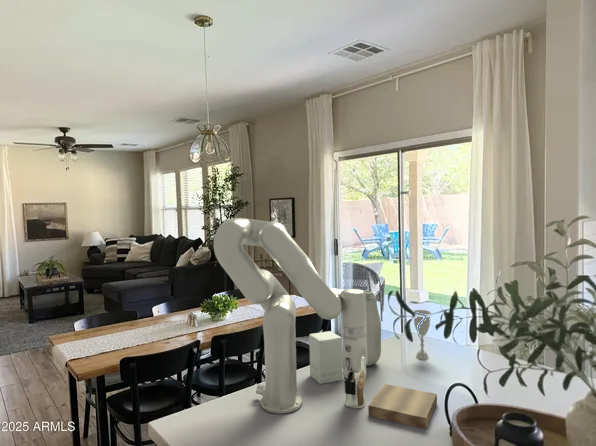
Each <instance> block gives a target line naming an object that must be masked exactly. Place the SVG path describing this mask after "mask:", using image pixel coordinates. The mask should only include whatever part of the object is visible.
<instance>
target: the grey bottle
mask: <svg viewBox="0 0 596 446" xmlns="http://www.w3.org/2000/svg"><path fill="white" fill-rule="evenodd" d="M363 291H364V292H365V294H366V341H367V354H368V363H367V364H366V367H367V366H369V367H370V366H373V365H376V364H377V363H378V361H380V358H381V355H382V354H381V353H382V324H381V323H382V322H381V316H380V313H379V309H378V304H377V303H378V302H377V301H378V300H377V296H376V294H375V293H374V292H372V290H371V291H370V290H363Z"/></svg>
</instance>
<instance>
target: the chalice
mask: <svg viewBox="0 0 596 446" xmlns="http://www.w3.org/2000/svg"><path fill="white" fill-rule="evenodd" d="M413 311H415V312H419V313H423V314H430V316H429V317H427V318H426V320H425V321H423V323H422V324H421V325H420V328H419V334H420V335H421V336H420V335H419V334H418V335H419V336H420V340H419V342H420V344H419V347H420V350H418V351H417V353H416V355H415V358H416V359H417V360H420V361H426V360H429V359H430V357H429V354H428V352H427V351H426V350H424V347H425V344H424V343H425V339H424V336H426V335H427V333H428V331H429V329H430V325H431V323H430V322H431V321H430V320H431V319H430V318H431V314H432V312H431V311H429V310H424V309H416V310H413ZM422 319H423V317H417V318H415V319H414V318H413V324H414V328H415V330H416V331H417V325H418V323H419V322H420V321H421V320H422Z"/></svg>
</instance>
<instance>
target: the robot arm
mask: <svg viewBox="0 0 596 446" xmlns="http://www.w3.org/2000/svg"><path fill="white" fill-rule="evenodd" d="M243 245H246V246H254V247H262V249H264V250H265V252H266V253H267V254H268V255H269V256H270V258H271V259H272V260H273V261H274V262H275V264H277V266H279V268H280V270H282V272H283V273H284V274H285V275H286V276H287V277H288V279H289V281H290V282H291V283H292V285H293V286H294V288H296V290H297V291H298V292H299V294H300V295H301V296H302V297H303V299H304V300H305V301H306V303H307V304H308V306H310V307H311V309H312V310H313V311H314V312H315V313H316V314H317V315H318V316H319V317H320V318H322V319H325V320H327V321H330V320H334V319H336V318H338V316H339V315H340V322H341V323H340V324H341V325H340V326H341V327H340V331H341V336H340V337H341V338H342V371H343V382H344V381H345V382H344V393H345V395H346V394H350V395H355V394H356V381H354V379H355V372H356V373H358V372H360V371H361V358H363V357H364V355H365V360H366V364H367V363H368V354H367V341H366V294H365V292H364V291H365V290H362V289H360V288H348V289H339V288H333V287H329V286H328V285H327V284H326V282H325V281H324V280H323V279H322V277H321V276H320V274H319V273H318V272H317V270H316V268H315V267H314V264H313V263H312V260H311V259H310V257H309V256H308V255H307V254H306V253H305V252H304V250H303V249H302V248H301V247H300V246H299V245H298V243H296V241H295V240H294V239H293V238H292V236H291V235H290V234H289V233H288V230H287V228H286V227H285V226H284V224H282V223H280V222H277V221H268V220H267V221H266V220H259V219H250V218H245V217H236V218H235V217H234V218H229V219H227V220H225V221H223V222H222V223H221V224H220V225H219V227H218V229H217V231H216V232H215V235H214V239H213V251H214V255H215V258H216V259H217V262H218V263H219V264H220V266H221V268H223V270H224V271H225V272H226V274H227V275H228V276H229V278H230V279H231V280H232V282H233V284H234V285H236V287H237V289H239V291H240V292H241V293H242V295H243V296H244V298H245V299H246V300H247V301H248V302H249V303H251V304H253V305H259V306H260V307H261V308H262V309H263V310H264V312H263V318H262V331H263V341H264V342H263V343H264V345H263V346H264V372H265V373H264V377H265V379H264V380H265V382H264V383H265V385H264V384H260V383H259V384H257V386H256V390H255V393H256V394H257V395H260V396H262V398H261V400H260V406H261V408H262V410H264V411H266V412H268V413H270V414H271V413H272V414H280V415H281V414H288V413H292V412H295V411H297V410H299V409H300V408H301V407H302V404H303V399H302V397H301V395H299V394H298V393H297V392H298V391H297V390H298V389H297V387H298V386H297V384H298V383H297V379H298V378H297V348H296V347H297V346H296V344H297V343H296V342H297V341H296V338H297V337H296V317H297V306H296V303H295V300H294V299H293V298H292V296H290V294H289V293H288V291H287V290H286V289H285V288H284V287H283V285H282V284H281V283H280V282H279V280H278V279H277V277H276V276H274V274H273V273H271V272H270V271H269V270H267V269H261V268H260V267H259V266H258V265H257V264H256V263H255V261H254V260H253V258H252V257H251V256H250V255H249V254H248V253H247V252H246V250H245V249H244V246H243ZM350 365H351V367H352V370H353V371H352V370H349V368H350ZM349 372H351V373H352V377H351V375H349Z"/></svg>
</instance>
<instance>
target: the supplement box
mask: <svg viewBox="0 0 596 446" xmlns="http://www.w3.org/2000/svg"><path fill="white" fill-rule="evenodd" d="M308 339H309V375H310V376H311V377H312V378H313V379H314V380H315V381H316V382H317V383H319V385H322V384H328V383H333V382H338V381H344V376H343V367H342V347H343V337H342V336H339V334H337V333H334V331H331V330H328V331H321V332H315V333H310V334H309V336H308Z"/></svg>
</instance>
